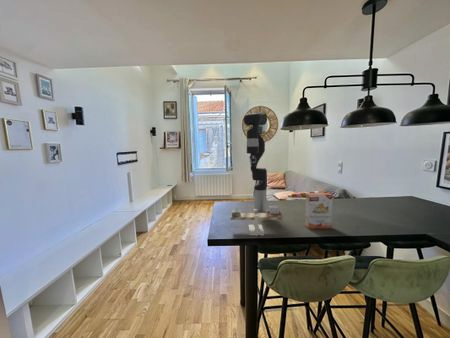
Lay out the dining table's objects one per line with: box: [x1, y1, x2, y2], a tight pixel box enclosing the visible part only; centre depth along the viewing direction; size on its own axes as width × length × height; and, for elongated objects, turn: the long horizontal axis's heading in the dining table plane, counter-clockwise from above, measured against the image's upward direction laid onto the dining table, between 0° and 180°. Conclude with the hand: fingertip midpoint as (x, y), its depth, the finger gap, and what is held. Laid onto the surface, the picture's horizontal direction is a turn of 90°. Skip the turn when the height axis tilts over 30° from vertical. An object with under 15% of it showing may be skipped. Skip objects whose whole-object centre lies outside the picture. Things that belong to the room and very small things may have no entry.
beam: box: [230, 208, 283, 221], centre depth 127 cm, size 29×9×4 cm, turn 86°
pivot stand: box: [248, 208, 265, 237], centre depth 127 cm, size 8×13×12 cm, turn 176°
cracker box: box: [304, 192, 334, 230], centre depth 130 cm, size 14×6×21 cm, turn 91°
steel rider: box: [268, 205, 280, 215], centre depth 126 cm, size 5×5×5 cm
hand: (252, 171), depth 138 cm, fingers open, 8 cm apart
